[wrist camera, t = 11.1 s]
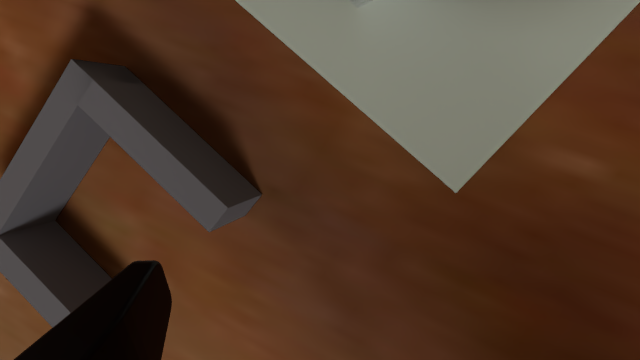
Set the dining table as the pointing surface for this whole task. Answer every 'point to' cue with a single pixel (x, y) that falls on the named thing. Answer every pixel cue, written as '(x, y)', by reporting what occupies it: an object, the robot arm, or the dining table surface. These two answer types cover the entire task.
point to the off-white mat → (444, 64)
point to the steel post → (359, 2)
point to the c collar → (73, 163)
